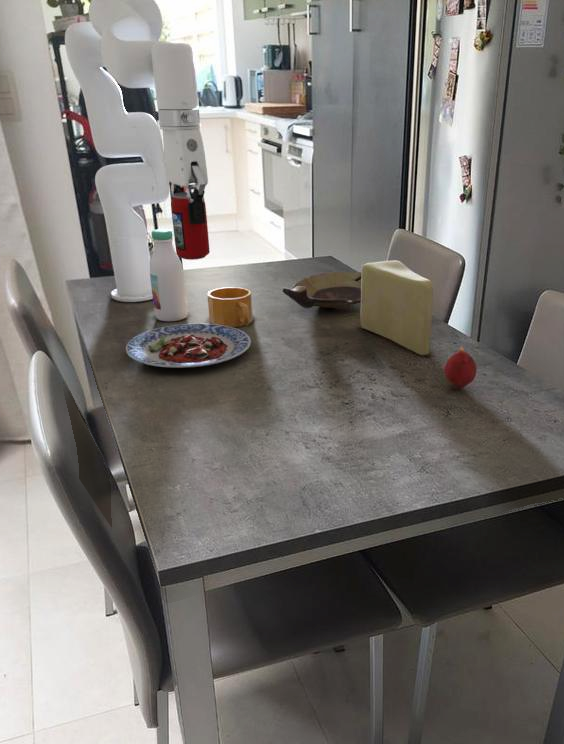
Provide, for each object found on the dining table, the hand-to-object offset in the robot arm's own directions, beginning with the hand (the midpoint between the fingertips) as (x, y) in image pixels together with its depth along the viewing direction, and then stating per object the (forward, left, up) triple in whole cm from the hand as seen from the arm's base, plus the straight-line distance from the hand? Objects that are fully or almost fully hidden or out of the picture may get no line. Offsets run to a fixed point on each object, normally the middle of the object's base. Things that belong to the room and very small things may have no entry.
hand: (189, 219), depth 138 cm
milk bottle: (-21, +1, -26) cm, 33 cm away
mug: (-9, +12, -26) cm, 30 cm away
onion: (+49, +30, -26) cm, 63 cm away
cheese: (+22, +38, -26) cm, 51 cm away
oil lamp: (-9, +38, -26) cm, 47 cm away
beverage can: (0, 0, -7) cm, 7 cm away
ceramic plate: (+4, -5, -26) cm, 27 cm away
